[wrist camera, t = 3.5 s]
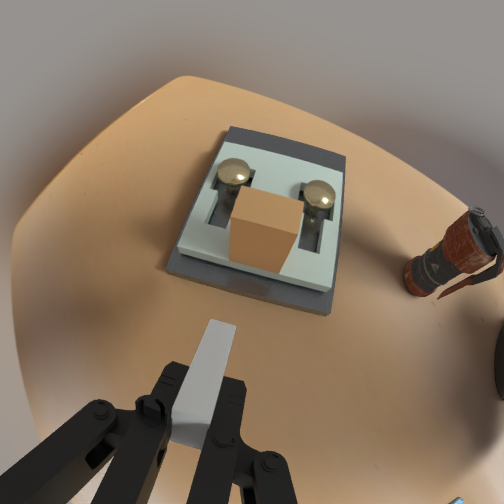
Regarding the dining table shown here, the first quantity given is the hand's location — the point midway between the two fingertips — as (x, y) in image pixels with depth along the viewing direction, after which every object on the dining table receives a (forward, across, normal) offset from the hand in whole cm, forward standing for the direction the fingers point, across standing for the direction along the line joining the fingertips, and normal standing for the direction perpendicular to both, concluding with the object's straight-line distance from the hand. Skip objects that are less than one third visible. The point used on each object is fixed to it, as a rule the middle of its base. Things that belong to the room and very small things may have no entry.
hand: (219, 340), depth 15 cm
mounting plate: (+22, +1, +4) cm, 22 cm away
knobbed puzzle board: (+19, +1, +4) cm, 20 cm away
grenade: (+18, +23, +1) cm, 29 cm away
